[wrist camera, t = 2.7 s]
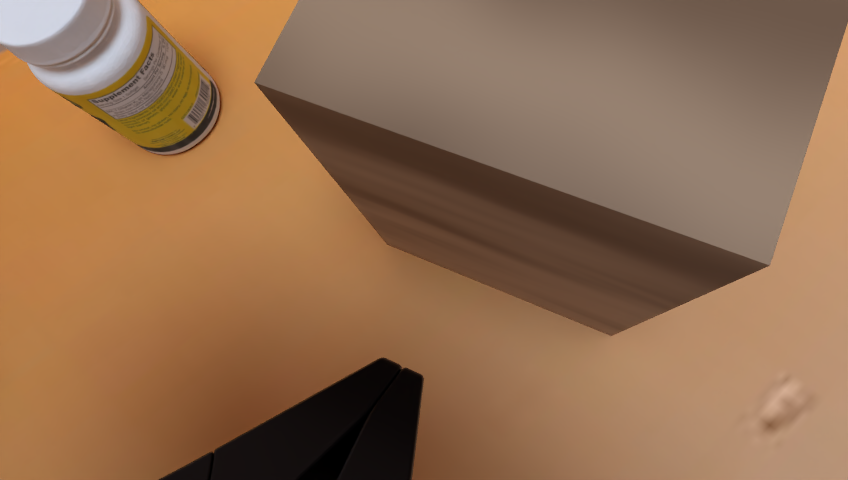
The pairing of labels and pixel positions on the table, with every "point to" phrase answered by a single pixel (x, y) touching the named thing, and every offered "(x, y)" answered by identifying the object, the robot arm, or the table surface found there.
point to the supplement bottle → (115, 68)
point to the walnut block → (565, 136)
